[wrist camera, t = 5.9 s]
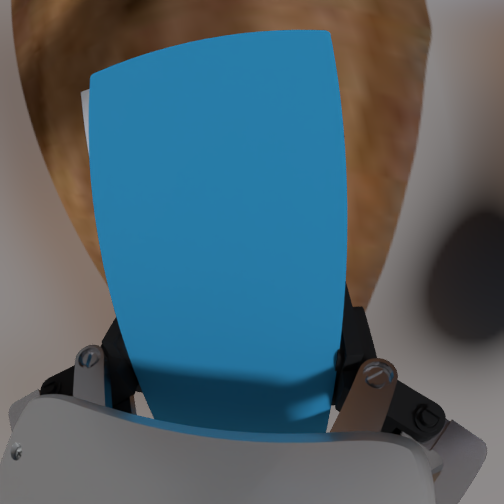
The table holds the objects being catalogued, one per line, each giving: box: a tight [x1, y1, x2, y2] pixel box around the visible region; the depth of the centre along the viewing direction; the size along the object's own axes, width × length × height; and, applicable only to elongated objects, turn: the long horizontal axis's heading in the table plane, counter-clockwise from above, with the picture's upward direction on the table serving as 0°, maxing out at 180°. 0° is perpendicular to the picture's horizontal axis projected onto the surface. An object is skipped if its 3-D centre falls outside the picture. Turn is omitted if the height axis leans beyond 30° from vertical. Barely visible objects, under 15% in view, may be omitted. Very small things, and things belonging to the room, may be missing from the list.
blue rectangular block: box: [89, 30, 347, 434], centre depth 11 cm, size 7×7×18 cm
